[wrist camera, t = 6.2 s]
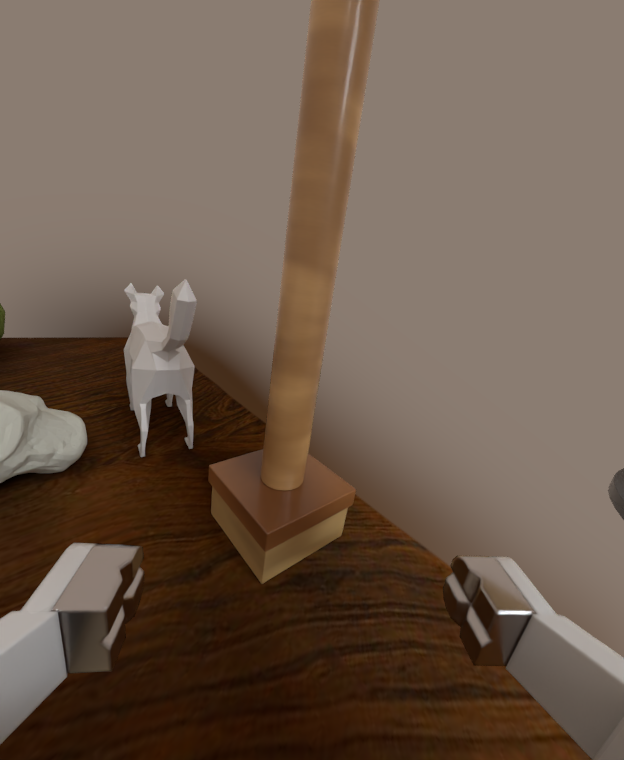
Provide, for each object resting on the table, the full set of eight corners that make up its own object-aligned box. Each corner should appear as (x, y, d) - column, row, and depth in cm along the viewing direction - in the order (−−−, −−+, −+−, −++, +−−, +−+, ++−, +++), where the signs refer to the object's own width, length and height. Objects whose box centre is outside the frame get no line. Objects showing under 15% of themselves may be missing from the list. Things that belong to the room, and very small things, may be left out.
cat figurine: (166, 387, 39) (165, 261, 34) (217, 490, 23) (229, 284, 19) (122, 390, 36) (115, 254, 32) (147, 508, 21) (141, 275, 16)
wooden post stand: (286, 481, 25) (351, 4, 16) (346, 536, 21) (482, -76, 12) (206, 512, 21) (234, -108, 12) (260, 589, 17) (369, -297, 8)
